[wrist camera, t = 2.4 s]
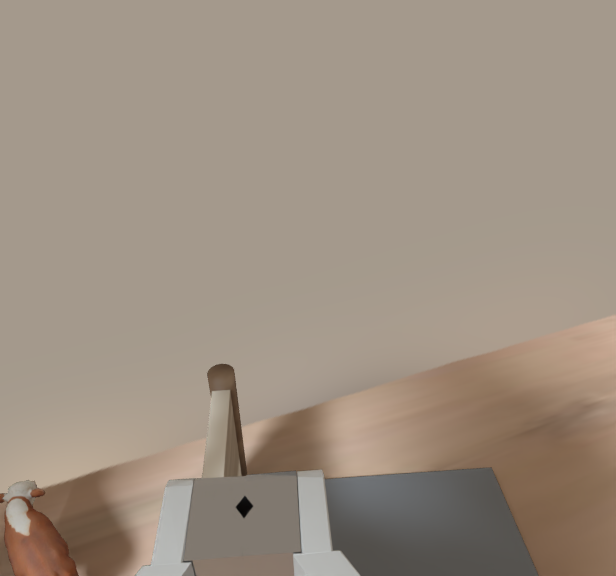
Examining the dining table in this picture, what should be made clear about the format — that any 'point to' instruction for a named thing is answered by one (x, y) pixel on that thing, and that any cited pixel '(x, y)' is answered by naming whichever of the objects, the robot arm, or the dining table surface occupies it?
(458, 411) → the dining table surface
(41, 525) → the bull figurine
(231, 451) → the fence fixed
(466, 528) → the board
